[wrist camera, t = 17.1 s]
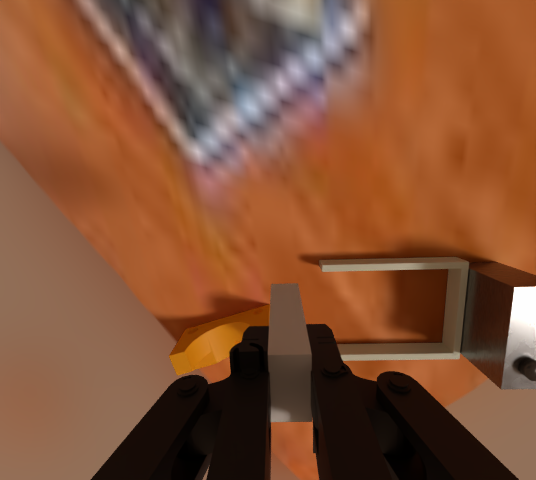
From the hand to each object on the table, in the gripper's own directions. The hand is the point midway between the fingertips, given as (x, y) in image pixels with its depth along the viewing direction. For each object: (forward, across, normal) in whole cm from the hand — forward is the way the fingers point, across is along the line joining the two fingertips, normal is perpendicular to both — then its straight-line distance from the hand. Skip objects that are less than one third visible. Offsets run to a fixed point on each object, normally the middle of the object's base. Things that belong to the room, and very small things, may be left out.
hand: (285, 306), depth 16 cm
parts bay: (+20, +13, -10) cm, 26 cm away
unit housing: (+20, +25, -10) cm, 33 cm away
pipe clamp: (+20, -7, -13) cm, 25 cm away
